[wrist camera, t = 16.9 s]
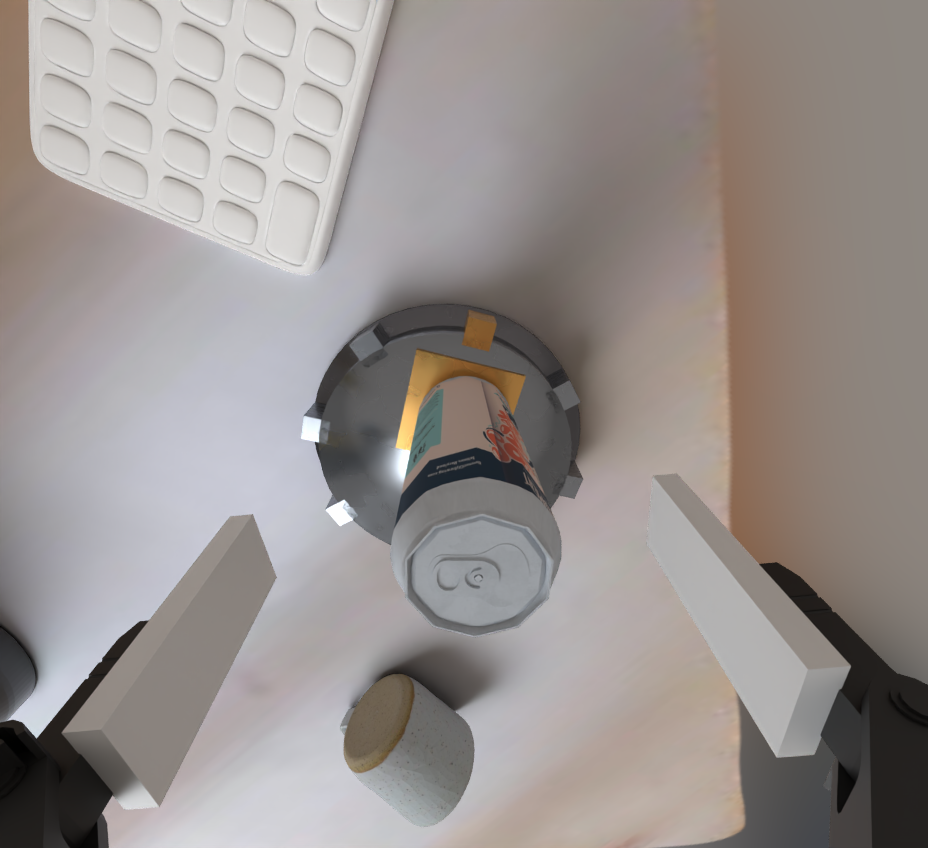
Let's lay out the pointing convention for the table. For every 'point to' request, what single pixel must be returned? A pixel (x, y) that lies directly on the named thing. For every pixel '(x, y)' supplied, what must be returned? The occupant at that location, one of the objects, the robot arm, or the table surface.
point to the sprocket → (397, 405)
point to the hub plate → (452, 317)
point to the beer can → (472, 515)
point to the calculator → (209, 111)
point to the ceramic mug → (409, 749)
